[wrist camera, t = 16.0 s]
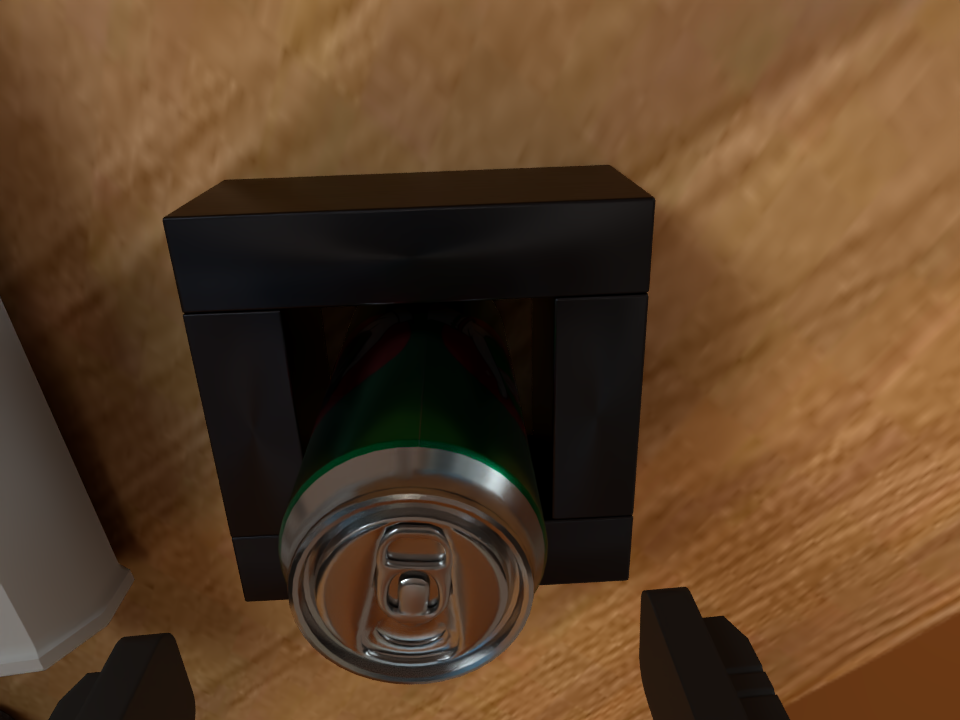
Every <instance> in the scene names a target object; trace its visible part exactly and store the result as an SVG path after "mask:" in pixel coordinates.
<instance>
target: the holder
mask: <svg viewBox="0 0 960 720" xmlns="http://www.w3.org/2000/svg"><path fill="white" fill-rule="evenodd" d="M654 213H655V198H654V197H653V196H651V195H650V194H649V193H647V192H646V191H645V190H643V189H642V188H641V187H639V186H638V185H636V184H635V183H634V182H632V181H631V180H630V179H628V178H627V177H626V176H624V175H623V174H621V173H620V172H619V171H617V170H616V169H615V168H613V167H612V166H610V165H595V166H570V167H545V168H519V169H494V170H468V171H443V172H417V173H392V174H367V175H341V176H316V177H290V178H265V179H240V180H224V181H222V182H220V183H219V184H217V185H215V186H214V187H212V188H211V189H209V190H207V191H206V192H204V193H202V194H201V195H199V196H198V197H196V198H194V199H193V200H191V201H190V202H188V203H186V204H185V205H183V206H181V207H180V208H178V209H177V210H175V211H173V212H172V213H170V214H168V215H167V216H165V217H164V218H163V225H164V230H165V234H166V239H167V243H168V248H169V253H170V257H171V262H172V266H173V271H174V275H175V280H176V285H177V289H178V294H179V298H180V303H181V308H182V311H183V313H184V314H183V319H184V323H185V328H186V333H187V337H188V342H189V346H190V351H191V356H192V360H193V365H194V369H195V374H196V378H197V383H198V388H199V392H200V397H201V401H202V406H203V411H204V415H205V420H206V424H207V429H208V433H209V438H210V443H211V447H212V452H213V456H214V461H215V466H216V470H217V475H218V479H219V484H220V489H221V493H222V498H223V502H224V507H225V511H226V516H227V521H228V525H229V530H230V534H231V537H232V542H233V547H234V551H235V556H236V561H237V565H238V570H239V574H240V579H241V583H242V588H243V593H244V597H245V601H247V602H250V601H268V600H286V599H289V598H288V591H287V584H286V581H285V578H284V576H283V573H282V570H281V566H280V560H279V553H278V546H279V532H280V528H281V524H282V520H283V516H284V513H285V510H286V507H287V504H288V502H289V499H290V496H291V493H292V490H293V487H294V484H295V481H296V478H297V475H298V472H299V470H300V467H301V464H302V461H303V458H304V455H305V452H306V449H307V446H308V443H309V440H310V438H311V435H312V432H313V429H314V426H315V423H316V420H317V417H318V414H319V411H320V408H321V406H322V403H323V400H324V397H325V394H326V391H327V388H328V385H329V382H330V374H329V367H328V359H327V351H326V344H325V336H324V329H323V321H322V313H321V307H340V306H362V305H385V304H407V303H430V302H452V301H475V300H497V299H519V298H532V433H533V435H527V439H528V444H529V449H530V454H531V459H532V464H533V468H534V473H535V478H536V483H537V488H538V493H539V498H540V502H541V507H542V512H543V517H544V522H545V527H546V534H547V540H548V548H547V561H546V566H545V570H544V574H543V577H542V579H541V581H540V584H539V585H553V584H570V583H588V582H606V581H624V580H628V579H629V567H630V553H631V539H632V525H633V516H632V514H633V509H634V495H635V481H636V467H637V453H638V438H639V424H640V410H641V396H642V382H643V368H644V354H645V339H646V325H647V311H648V297H649V296H648V294H647V292H648V291H649V284H650V270H651V256H652V242H653V227H654Z"/></svg>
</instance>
